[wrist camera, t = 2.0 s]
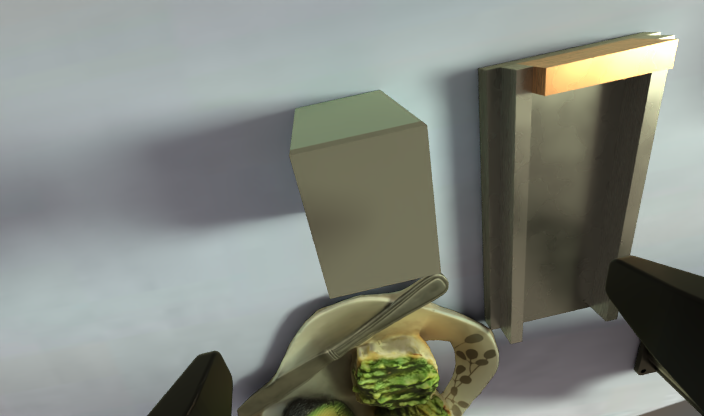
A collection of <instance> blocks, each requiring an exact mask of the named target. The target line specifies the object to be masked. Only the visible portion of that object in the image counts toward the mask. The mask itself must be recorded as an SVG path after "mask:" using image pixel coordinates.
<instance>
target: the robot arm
mask: <svg viewBox="0 0 704 416" xmlns="http://www.w3.org/2000/svg"><path fill="white" fill-rule="evenodd" d="M605 291H606V294H607V296H608V298H609V299H610V300H611V302H612V303H613V304H614V306H615V307H616V308H617V310H618V311H619V312H620V314H621V315H622V316H623V318H624V319H625V320H626V322H627V323H628V324H629V326H630V327H631V328H632V329H633V331H634V332H635V333H636V335H637V336H638V337H639V339H640V340H641V343H640V347H639V351H638V355H637V359H636V363H635V367H634V370H635V372H636V373H637V374H638V375H644V374H648V373H653V372H658V373H659V374H660V375H661V376H662V377H663V378H664V379H665V380H666V381H667V382H668V383H669V384H670V385H671V386H672V387H673V388H674V389H675V390H676V391H677V392H678V393H679V394H680V395H681V396H682V397H684V398H685V399H686V400H687V401H688V402H689V403H690V404H691V405H692V406H693V407H694V408H695V409H696V410H697V411H698V412H699V413H700V414H701V415H702V416H704V277H702V276H699V275H696V274H692V273H689V272H686V271H682V270H679V269H676V268H672V267H669V266H666V265H662V264H659V263H656V262H652V261H649V260H646V259H642V258H639V257H636V256H624V257H619V258H615V259H613V260H611V262H610V263H609V267H608V273H607V278H606V283H605ZM232 391H233V381H232V376H231V373H230V371H229V369H228V367H227V365H226V363H225V361H224V359H223V357H222V356H221V354H220V353H219V352H218V351H212V352H207V353H203V354H200V355H198V356H197V357H196V358H195V359H194V360H193V362H192V363H191V364H190V365H189V366H188V368H187V369H186V370H185V371H184V372H183V374H182V375H181V376H180V377H179V378H178V380H177V381H176V382H175V383H174V384H173V386H172V387H171V388H170V389H169V390H168V391H167V393H166V394H165V395H164V396H163V397H162V399H161V400H160V401H159V402H158V403H157V405H156V406H155V407H154V408H153V409H152V411H151V412H150V413H149V414H148V415H147V416H231V411H232Z"/></svg>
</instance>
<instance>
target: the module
mask: <svg viewBox="0 0 704 416" xmlns="http://www.w3.org/2000/svg"><path fill="white" fill-rule="evenodd" d="M289 157H290V160H291V164H292V167H293V171H294V174H295V178H296V181H297V185H298V188H299V192H300V195H301V199H302V202H303V206H304V209H305V213H306V216H307V220H308V223H309V227H310V230H311V234H312V237H313V241H314V244H315V248H316V251H317V255H318V258H319V262H320V265H321V269H322V272H323V276H324V279H325V283H326V286H327V290H328V293H329V297H330V299H332V298H336V297H340V296H345V295H349V294H353V293H358V292H362V291H366V290H370V289H375V288H379V287H383V286H388V285H392V284H396V283H401V282H405V281H409V280H414V279H418V278H422V277H427V276H431V275H435V274H440V273H441V268H440V257H439V247H438V236H437V225H436V215H435V204H434V194H433V183H432V172H431V162H430V151H429V141H428V130H427V125H426V124H425V123H424V122H422V121H421V120H420V119H418V118H417V117H416V116H414V115H413V114H412V113H410V112H409V111H408V110H406V109H405V108H404V107H402V106H401V105H400V104H398V103H397V102H396V101H394V100H393V99H392V98H390V97H389V96H388V95H386V94H385V93H384V92H382V91H381V90H377V91H372V92H368V93H363V94H359V95H354V96H350V97H345V98H341V99H336V100H331V101H327V102H322V103H318V104H313V105H309V106H304V107H300V108H295V115H294V123H293V130H292V138H291V146H290V154H289Z"/></svg>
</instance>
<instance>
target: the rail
mask: <svg viewBox="0 0 704 416" xmlns="http://www.w3.org/2000/svg"><path fill="white" fill-rule="evenodd" d="M674 36H675V35H660V32H642V33H638V34H633V35H628V36H624V37H619V38H615V39H610V40H606V41H601V42H597V43H592V44H587V45H583V46H578V47H574V48H569V49H565V50H560V51H556V52H551V53H546V54H542V55H537V56H533V57H528V58H524V59H519V60H515V61H510V62H505V63H501V64H496V65H492V66H487V67H483V68H478V81H479V120H480V158H481V196H482V235H483V273H484V312H485V321H486V323H487V325H488V326H489V328H490V329H491V330H494V329H498V328H501V330H502V331H503V333H504V334H505V336H506V337H507V339H508V340H509V342H510V343H511V344H513V343H517V342H521V341H522V333H523V322H528V321H532V320H536V319H540V318H544V317H549V316H553V315H557V314H561V313H566V312H570V311H574V310H578V309H583V308H587V307H591V308H592V309H593V310H594V311H595V312H596V313H597V314H598V315H600V316H601V317H602V318H603V319H604V320H605V321H610V320H614V319H617V316H618V310H617V308H616V307H615V306H614V304H613V303H612V302H611V300H610V299H609V298H608V296H607V294H606V291H605V283H606V278H607V273H608V267H609V263H610V262H611V260H613V259H615V258H619V257H624V256H630V252H631V247H632V243H633V238H634V233H635V228H636V223H637V218H638V213H639V208H640V203H641V198H642V193H643V189H644V184H645V179H646V174H647V169H648V164H649V159H650V154H651V149H652V144H653V139H654V135H655V130H656V125H657V120H658V115H659V110H660V105H661V100H662V95H663V90H664V85H665V81H666V76H667V71H668V69H669V68H673V63H674V58H675V53H676V48H677V44H678V39H674Z"/></svg>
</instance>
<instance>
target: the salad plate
mask: <svg viewBox="0 0 704 416" xmlns="http://www.w3.org/2000/svg"><path fill="white" fill-rule="evenodd" d="M448 286H449V282H448V281H447V279H446V277H445V276H444V275H443V274H441V273H440V274H435V275H431V276H427V277H424V278H422V279H420V280H418V281H417V282H415V283H414V284H412V285H411V286H408V287H407V288H405V289H403V290H401V291H397V292H392V293H385V294H374V295H359V296H355V297H352V298H350V299H346V300H343V301H341V302H338V303H336V304H333V305H330V306H327V307H323V308H321V309H319V310H318V311H316V312H315V313H314V314H313V315H312V316H311V317H310V318H309V319H308V320H307V321H306V322H305V323H304V324H303V326H302V327H301V328H300V330H299V331H298V332H297V334H296V335H295V337H294V338H293V340H292V341H291V343H290V344H289V347H288V349H287V352H286V354H285V356H284V358H283V360H282V362H281V365H280V367H279V369H278V371H277V373H276V374H275V375H274V377H273V378H272V379H271V380H270V381H269V382H268V383H267V384H266V385H264V386H263V387H262V388H261V389H259V390H258V391H257V392H255V393H254V394H253V395H252V396H251V397H250V398H249V399H248V400H247V401H246V402H245V403H244V404H243V405H242V406H241V407H239V408H238V410H237V412H238V416H462V414H463V413H464V412H465V410H466V409H467V408H468V407H469V406H470V404H471V403H472V401H473V400H474V399H475V398H476V397H477V396H478V395H479V394H481V391H482V390H483V389H484V388H485V386H486V385H487V384H488V383H489V381H490V379H491V378H492V377H493V376H494V374H495V373H496V371H497V368H498V365H499V350H498V348H497V345H496V341H495V339H494V335H493V332H492V331H491V329H489V328H488V327H486V326H485V325H483V324H481V323H479V322H477V321H475V320H473V319H471V318H469V317H467V316H465V315H463V314H461V313H458V312H456V311H453V310H450V309H447V308H444V307H440V306H438V305H436V304H434V303H431V302H432V301H434V300H435V299H437V298H439V297H440V296H442V295H443V294H445V293H446V292H447V290H448ZM428 340H443V341H450V342H451V344H452V346H453V349H454V351H455V361H456V365H455V370H454V373H453V377H452V378H451V380H450V382H449V384H448V385H447V387H446V388H445V390H444V391H443V393H442V394H440V393H439V392H438V391H437V390H436V388H437V387H438V382H439V379H440V378H439V375H438V369H437V368H438V366H437V364H436V361H435V359H434V357H433V355H432V353H431V350H430V348H429V346H428V345H427V343H426V342H425V341H428Z"/></svg>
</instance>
